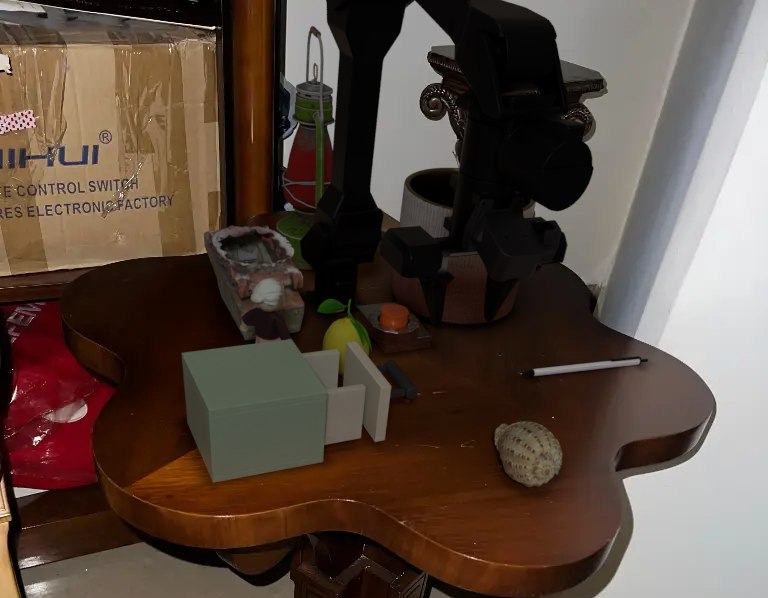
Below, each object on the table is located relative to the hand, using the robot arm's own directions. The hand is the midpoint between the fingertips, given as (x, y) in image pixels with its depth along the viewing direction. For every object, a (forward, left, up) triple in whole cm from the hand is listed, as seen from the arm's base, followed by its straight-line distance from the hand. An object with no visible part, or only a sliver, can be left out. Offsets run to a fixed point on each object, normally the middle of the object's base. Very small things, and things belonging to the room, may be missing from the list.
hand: (461, 323), depth 83 cm
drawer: (0, -13, -10) cm, 17 cm away
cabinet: (0, -23, -11) cm, 26 cm away
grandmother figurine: (-11, -18, -11) cm, 24 cm away
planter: (-25, +14, -11) cm, 31 cm away
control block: (-19, +1, -11) cm, 22 cm away
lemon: (-10, -9, -11) cm, 18 cm away
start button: (-16, 0, -8) cm, 17 cm away
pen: (-3, +22, -11) cm, 25 cm away
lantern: (-44, -1, -11) cm, 45 cm away
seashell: (+12, +3, -11) cm, 17 cm away
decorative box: (-29, -16, -11) cm, 35 cm away
